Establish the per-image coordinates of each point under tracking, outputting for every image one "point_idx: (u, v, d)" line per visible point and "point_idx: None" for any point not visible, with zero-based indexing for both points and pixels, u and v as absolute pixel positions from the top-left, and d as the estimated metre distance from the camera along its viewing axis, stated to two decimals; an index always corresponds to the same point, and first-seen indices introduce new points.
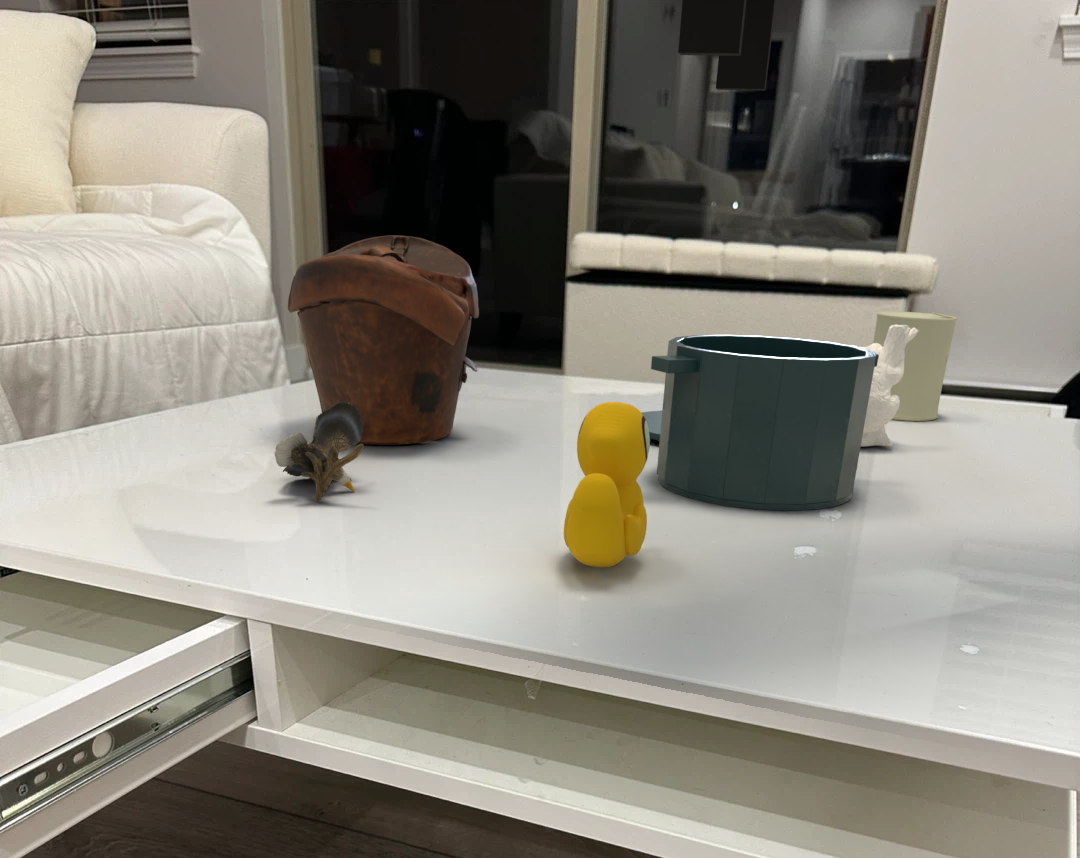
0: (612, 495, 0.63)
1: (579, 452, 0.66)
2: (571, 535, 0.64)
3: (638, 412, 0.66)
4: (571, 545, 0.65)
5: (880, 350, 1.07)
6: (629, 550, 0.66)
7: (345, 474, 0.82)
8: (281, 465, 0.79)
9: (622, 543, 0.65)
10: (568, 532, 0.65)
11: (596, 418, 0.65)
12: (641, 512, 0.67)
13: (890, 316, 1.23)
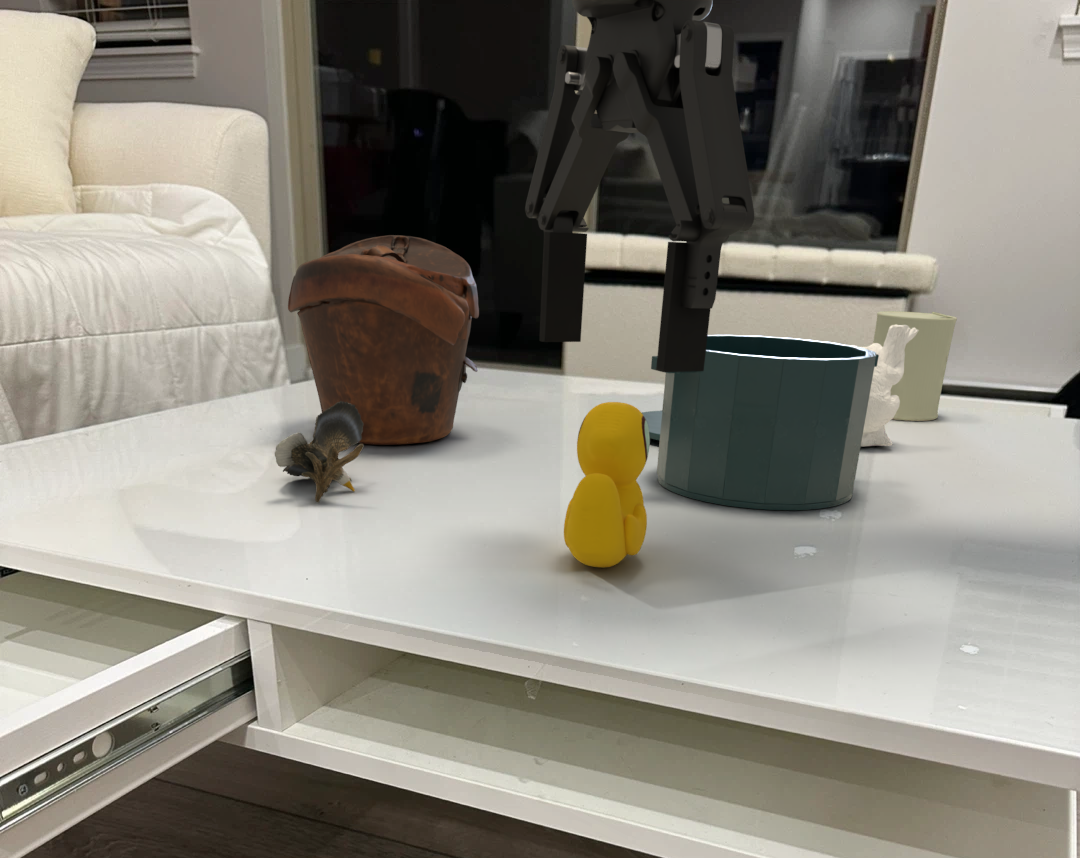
0: (611, 495, 0.63)
1: (579, 452, 0.66)
2: (571, 535, 0.64)
3: (638, 412, 0.66)
4: (571, 545, 0.65)
5: (880, 350, 1.07)
6: (629, 550, 0.66)
7: (345, 474, 0.82)
8: (281, 465, 0.79)
9: (622, 543, 0.65)
10: (568, 532, 0.65)
11: (596, 418, 0.65)
12: (641, 512, 0.67)
13: (890, 316, 1.23)
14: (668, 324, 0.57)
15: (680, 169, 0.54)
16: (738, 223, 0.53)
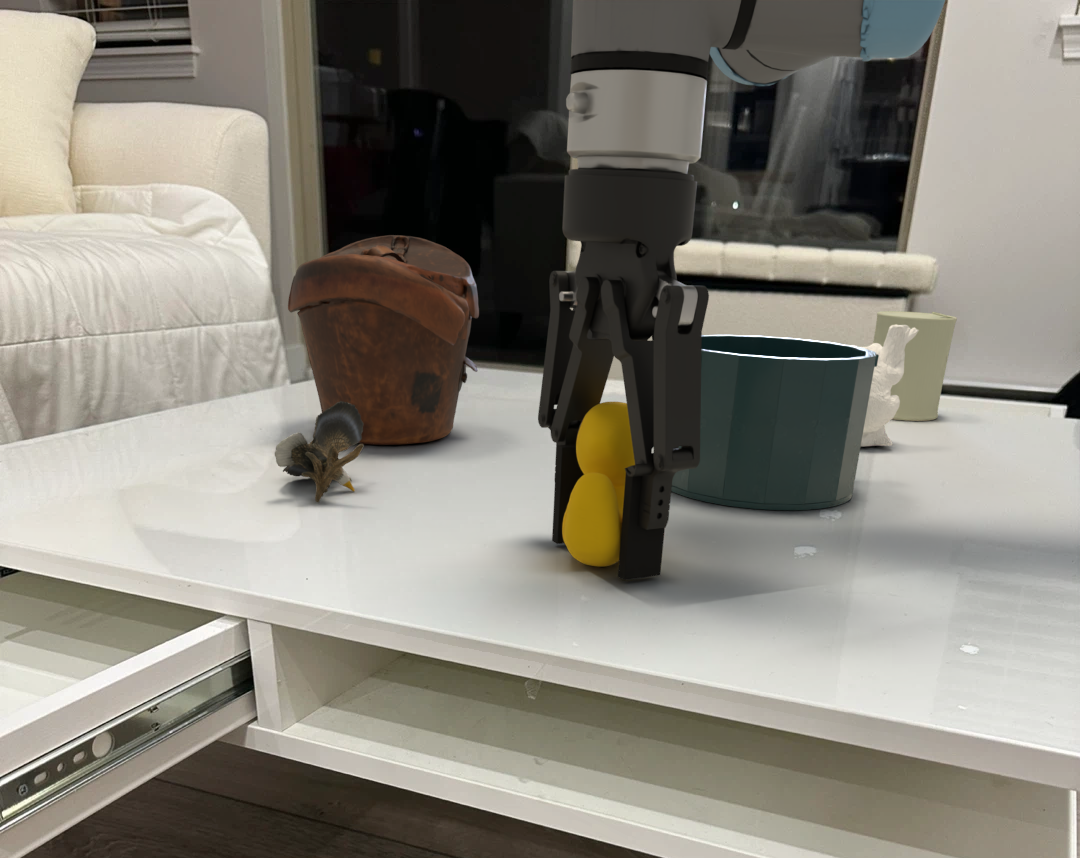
0: (608, 494, 0.63)
1: (578, 451, 0.66)
2: (568, 534, 0.64)
3: None
4: (568, 544, 0.65)
5: (880, 350, 1.07)
6: None
7: (345, 474, 0.82)
8: (281, 465, 0.79)
9: (619, 542, 0.65)
10: (565, 531, 0.65)
11: (594, 417, 0.65)
12: None
13: (890, 316, 1.23)
14: (627, 541, 0.64)
15: (644, 409, 0.61)
16: (685, 465, 0.60)
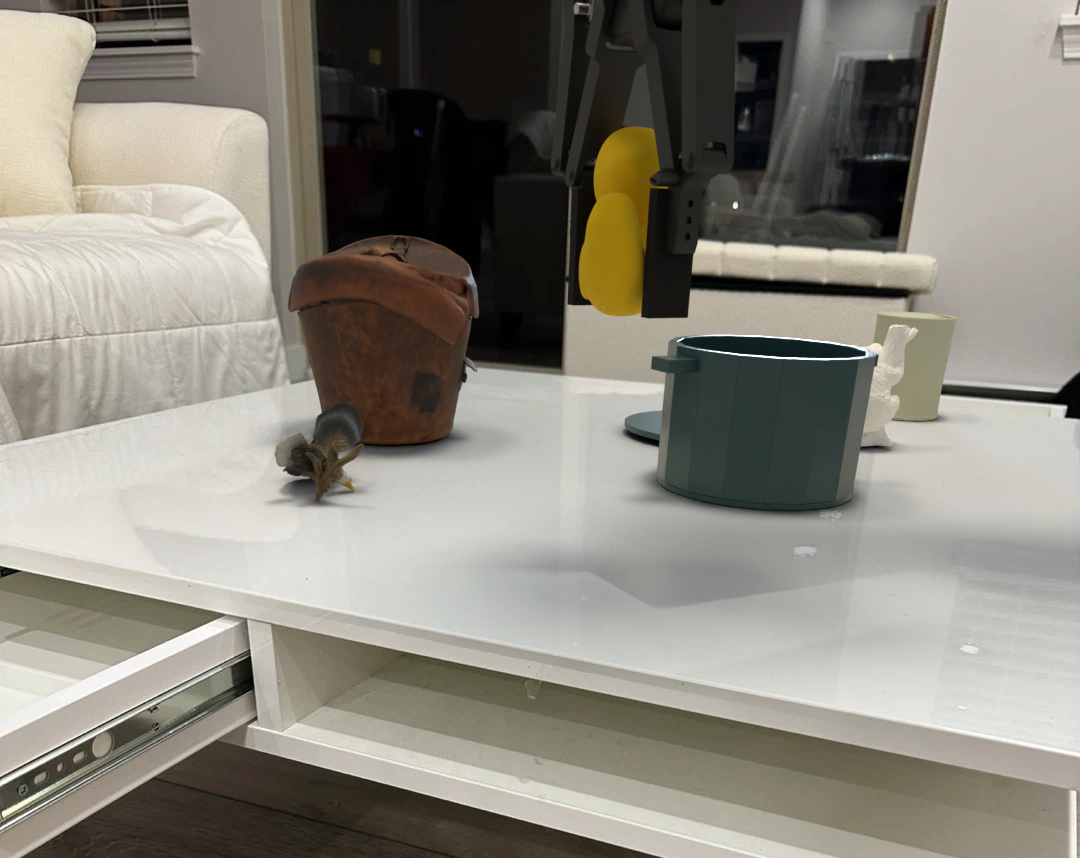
0: (630, 213, 0.57)
1: (596, 182, 0.60)
2: (586, 265, 0.58)
3: None
4: (586, 279, 0.59)
5: (880, 350, 1.07)
6: None
7: (345, 474, 0.82)
8: (281, 465, 0.79)
9: (643, 277, 0.59)
10: (583, 264, 0.58)
11: (614, 139, 0.59)
12: None
13: (890, 316, 1.23)
14: (651, 270, 0.58)
15: (671, 107, 0.55)
16: (718, 166, 0.54)
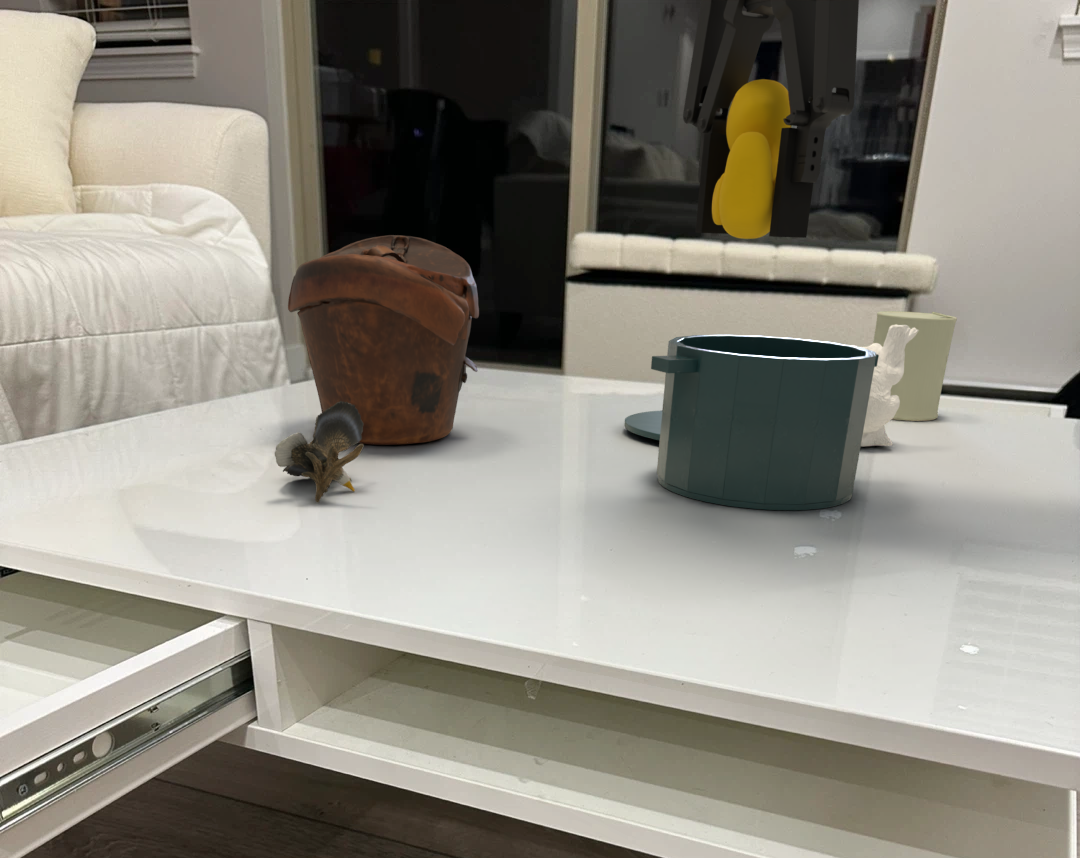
0: (766, 148, 0.69)
1: (730, 125, 0.73)
2: (726, 192, 0.71)
3: (784, 87, 0.72)
4: (725, 203, 0.71)
5: (880, 350, 1.07)
6: None
7: (345, 474, 0.82)
8: (281, 465, 0.79)
9: (771, 203, 0.72)
10: (723, 191, 0.71)
11: (747, 89, 0.72)
12: None
13: (890, 316, 1.23)
14: (781, 196, 0.71)
15: (802, 61, 0.67)
16: (842, 108, 0.67)
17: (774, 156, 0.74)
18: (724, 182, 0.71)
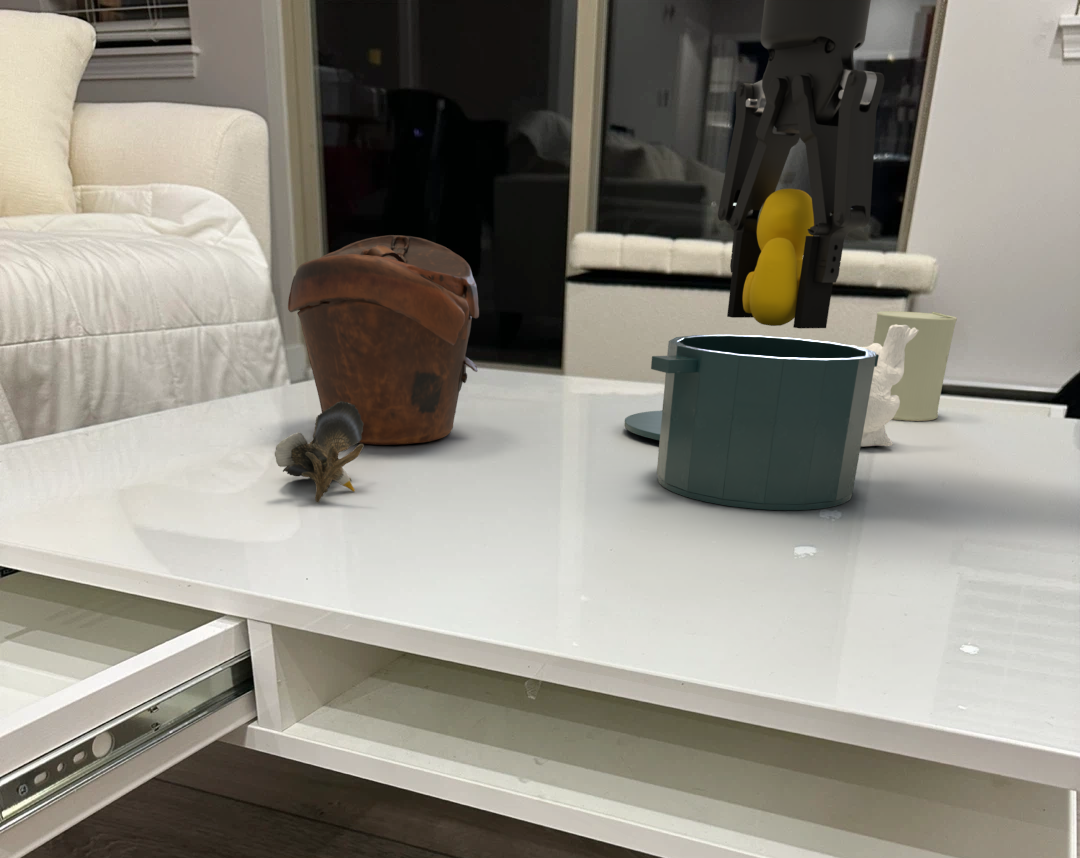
0: (792, 253, 0.79)
1: (760, 228, 0.82)
2: (756, 289, 0.81)
3: None
4: (755, 299, 0.81)
5: (880, 350, 1.07)
6: None
7: (345, 474, 0.82)
8: (281, 465, 0.79)
9: (796, 298, 0.81)
10: (753, 288, 0.81)
11: (776, 198, 0.81)
12: None
13: (890, 316, 1.23)
14: (804, 294, 0.80)
15: (825, 179, 0.77)
16: (859, 222, 0.77)
17: (799, 255, 0.83)
18: (754, 280, 0.81)
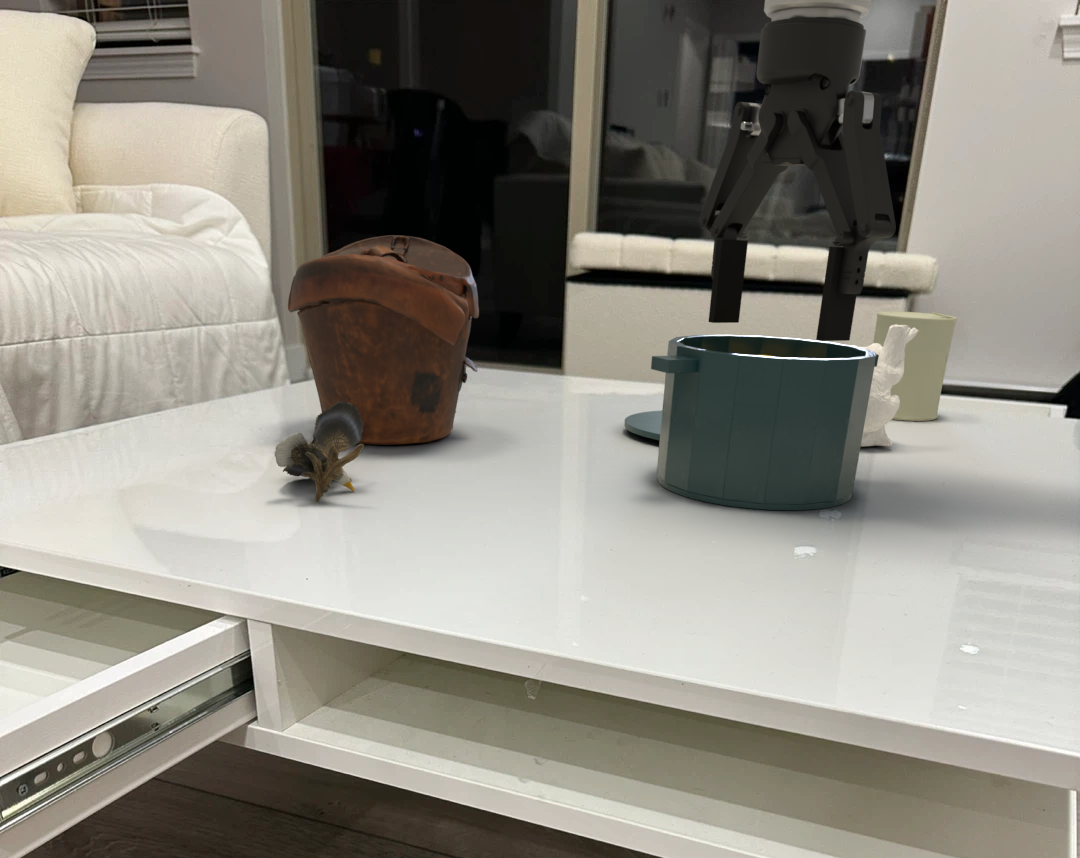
0: None
1: None
2: None
3: None
4: None
5: (880, 350, 1.07)
6: None
7: (345, 474, 0.82)
8: (281, 465, 0.79)
9: None
10: None
11: None
12: None
13: (890, 316, 1.23)
14: (827, 306, 0.79)
15: (840, 194, 0.76)
16: (884, 233, 0.75)
17: None
18: None
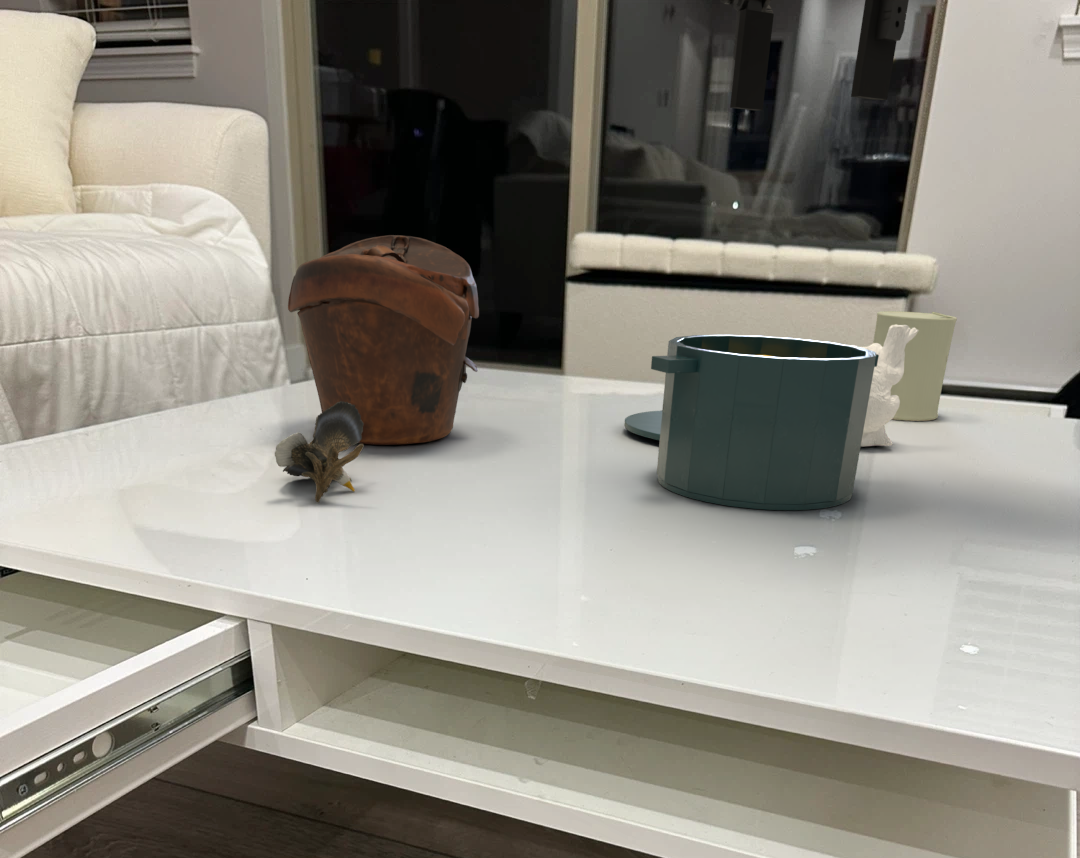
0: None
1: None
2: None
3: None
4: None
5: (880, 350, 1.07)
6: None
7: (345, 474, 0.82)
8: (281, 465, 0.79)
9: None
10: None
11: None
12: None
13: (890, 316, 1.23)
14: (864, 54, 0.72)
15: None
16: None
17: None
18: None
